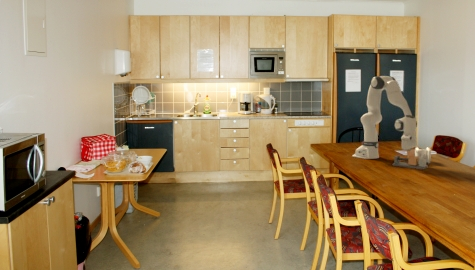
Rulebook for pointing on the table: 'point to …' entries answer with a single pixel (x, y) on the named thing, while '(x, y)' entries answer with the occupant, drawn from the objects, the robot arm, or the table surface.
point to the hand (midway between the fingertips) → (408, 153)
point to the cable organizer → (423, 153)
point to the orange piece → (412, 157)
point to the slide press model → (420, 165)
